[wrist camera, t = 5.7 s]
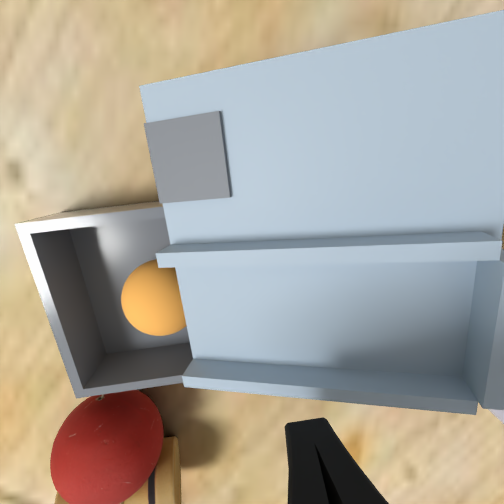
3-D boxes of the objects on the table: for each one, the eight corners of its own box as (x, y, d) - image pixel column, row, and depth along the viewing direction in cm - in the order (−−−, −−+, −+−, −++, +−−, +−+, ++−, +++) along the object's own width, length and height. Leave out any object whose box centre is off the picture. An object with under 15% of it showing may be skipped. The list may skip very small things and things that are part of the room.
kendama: (209, 518, 26) (186, 371, 18) (188, 633, 20) (141, 486, 12) (127, 508, 26) (73, 363, 19) (84, 616, 21) (-19, 469, 13)
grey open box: (229, 192, 16) (230, 198, 13) (248, 336, 19) (252, 372, 16) (60, 212, 16) (14, 223, 12) (103, 356, 18) (76, 398, 15)
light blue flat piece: (517, 17, 8) (586, -33, 6) (468, 378, 12) (500, 426, 10) (151, 90, 11) (110, 74, 9) (201, 360, 15) (181, 393, 13)
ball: (153, 248, 17) (209, 250, 15) (166, 308, 18) (219, 316, 16) (93, 272, 14) (156, 278, 12) (114, 344, 15) (174, 359, 13)
